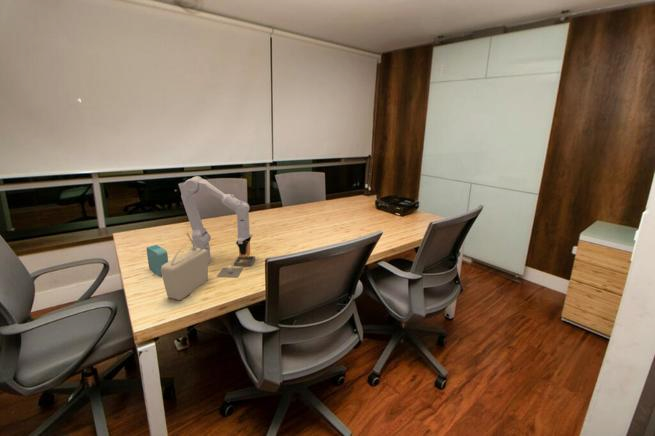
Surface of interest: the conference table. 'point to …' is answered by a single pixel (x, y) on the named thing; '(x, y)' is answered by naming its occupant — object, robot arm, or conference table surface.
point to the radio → (185, 272)
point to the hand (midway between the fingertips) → (244, 252)
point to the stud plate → (233, 275)
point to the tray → (243, 262)
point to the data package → (156, 258)
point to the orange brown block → (246, 250)
